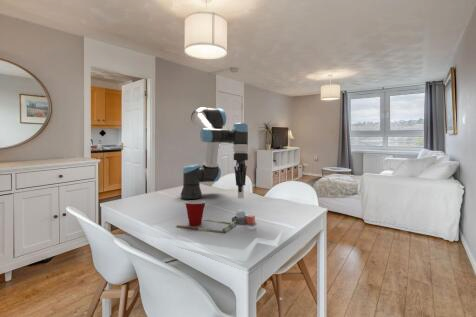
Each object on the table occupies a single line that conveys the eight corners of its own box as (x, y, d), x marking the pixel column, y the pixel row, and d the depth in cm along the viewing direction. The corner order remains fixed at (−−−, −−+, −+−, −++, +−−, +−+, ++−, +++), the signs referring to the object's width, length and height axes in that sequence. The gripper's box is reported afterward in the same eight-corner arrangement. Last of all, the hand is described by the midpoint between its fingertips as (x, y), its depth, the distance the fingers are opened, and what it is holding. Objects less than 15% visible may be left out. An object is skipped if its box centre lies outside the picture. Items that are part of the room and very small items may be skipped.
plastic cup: (209, 222, 126) (209, 199, 126) (200, 228, 116) (200, 203, 116) (191, 221, 130) (191, 198, 130) (180, 226, 120) (180, 202, 120)
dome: (237, 217, 130) (237, 208, 130) (246, 218, 128) (246, 209, 128) (234, 219, 126) (234, 210, 126) (243, 220, 124) (243, 211, 124)
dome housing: (236, 220, 132) (236, 213, 132) (256, 222, 128) (256, 215, 128) (231, 223, 125) (231, 216, 125) (252, 225, 121) (252, 218, 121)
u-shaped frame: (192, 220, 132) (192, 216, 132) (236, 224, 123) (236, 220, 123) (176, 227, 118) (176, 223, 118) (224, 233, 109) (224, 228, 109)
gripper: (238, 153, 134) (238, 196, 134) (229, 152, 122) (229, 199, 122) (251, 153, 132) (251, 196, 131) (243, 152, 120) (243, 200, 119)
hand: (240, 198), depth 127 cm, fingers closed
